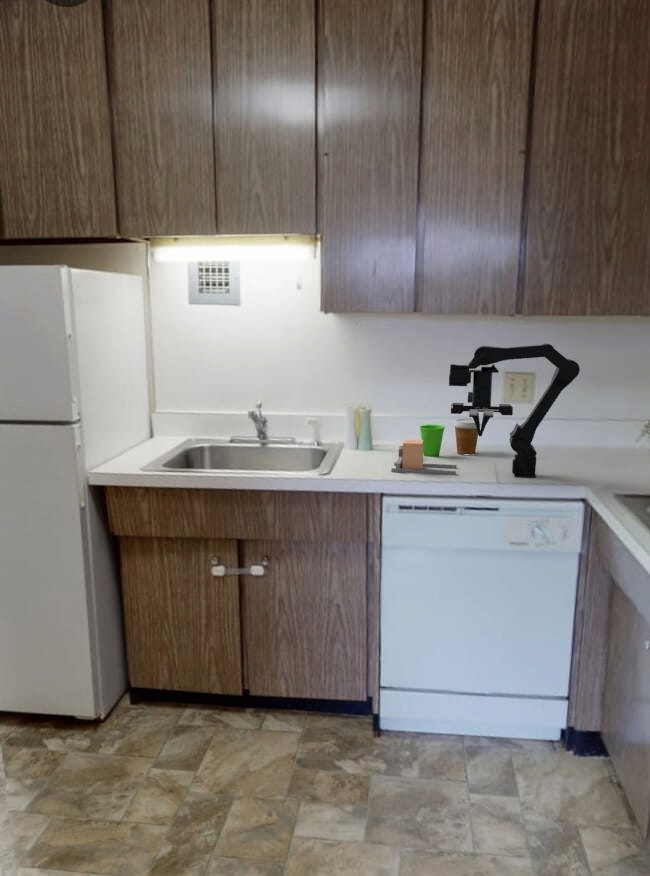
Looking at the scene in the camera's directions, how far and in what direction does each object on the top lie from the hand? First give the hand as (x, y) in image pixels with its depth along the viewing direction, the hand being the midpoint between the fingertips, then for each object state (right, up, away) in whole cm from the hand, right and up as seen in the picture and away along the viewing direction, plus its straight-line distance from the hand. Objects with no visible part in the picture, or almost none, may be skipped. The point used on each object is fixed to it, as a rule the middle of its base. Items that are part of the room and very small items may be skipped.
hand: (480, 436), depth 210 cm
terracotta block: (-21, -11, +3) cm, 24 cm away
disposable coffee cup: (+2, -6, +31) cm, 32 cm away
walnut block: (-21, -9, +19) cm, 29 cm away
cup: (-12, -8, +25) cm, 28 cm away
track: (-17, -12, +3) cm, 21 cm away
